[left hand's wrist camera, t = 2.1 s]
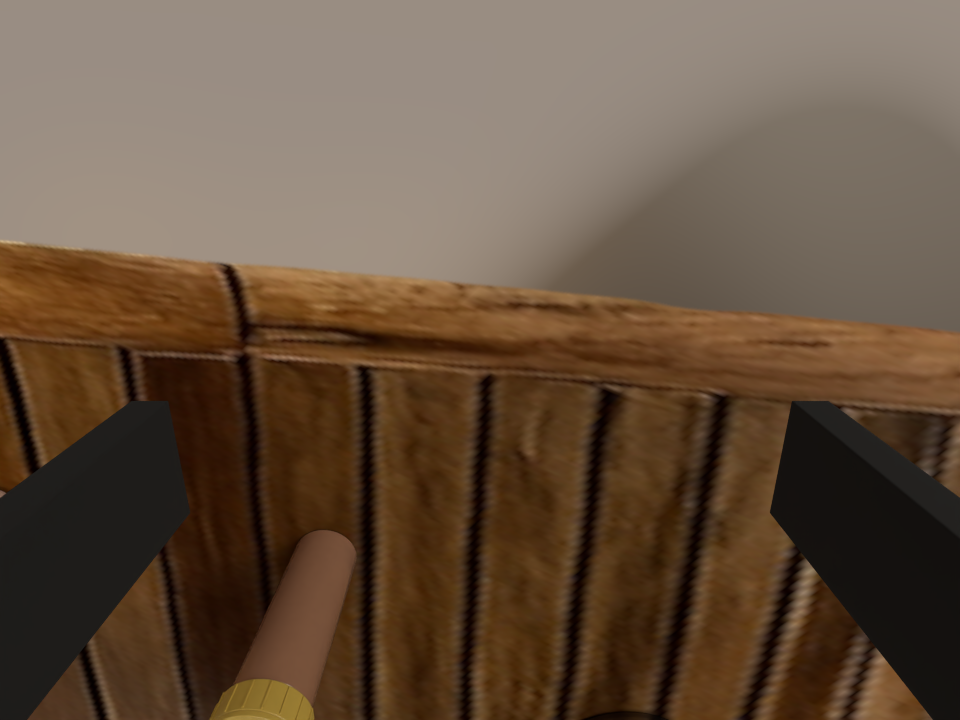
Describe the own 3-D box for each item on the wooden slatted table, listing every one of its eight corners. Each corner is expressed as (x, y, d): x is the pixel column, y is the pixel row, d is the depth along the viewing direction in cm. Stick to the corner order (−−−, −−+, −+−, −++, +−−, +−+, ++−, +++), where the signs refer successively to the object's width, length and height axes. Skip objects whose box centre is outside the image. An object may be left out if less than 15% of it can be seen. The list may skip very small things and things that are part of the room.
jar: (283, 557, 48) (192, 748, 32) (319, 518, 46) (241, 698, 31) (332, 589, 49) (266, 788, 34) (369, 552, 47) (317, 742, 32)
